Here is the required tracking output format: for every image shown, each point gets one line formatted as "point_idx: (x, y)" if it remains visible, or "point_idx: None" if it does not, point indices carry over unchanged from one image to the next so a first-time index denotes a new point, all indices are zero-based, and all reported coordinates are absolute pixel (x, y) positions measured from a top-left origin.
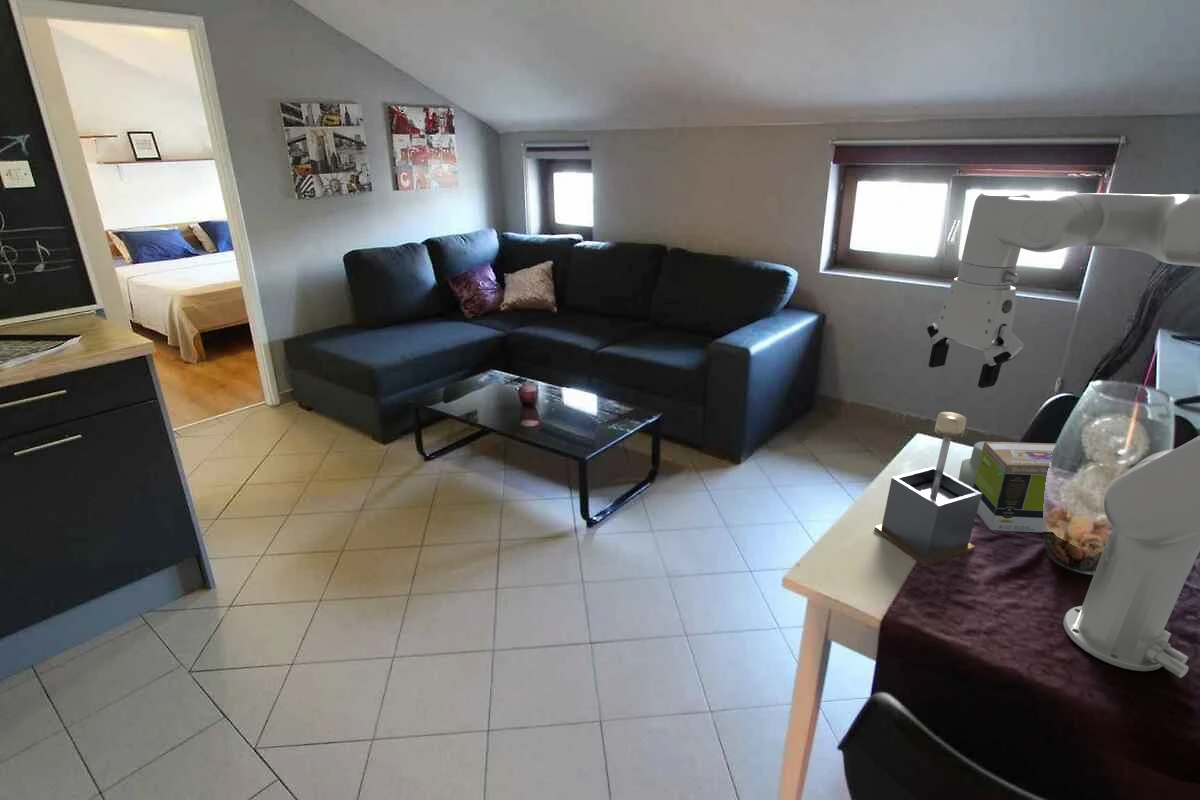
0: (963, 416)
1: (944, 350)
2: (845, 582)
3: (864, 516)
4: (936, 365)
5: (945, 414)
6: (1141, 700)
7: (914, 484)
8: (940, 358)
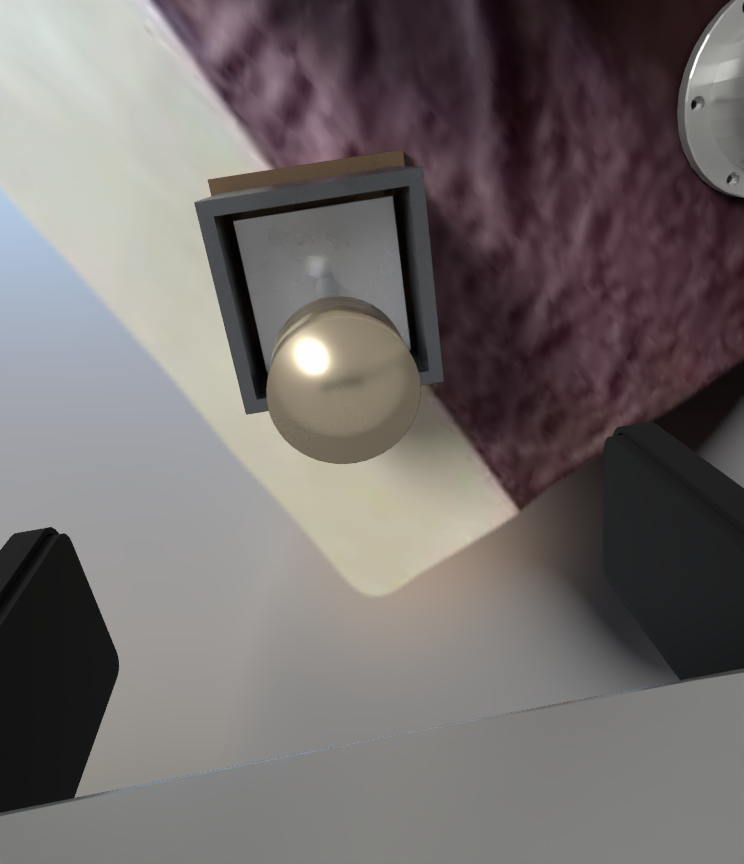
0: (352, 322)
1: (8, 708)
2: (413, 527)
3: (181, 347)
4: (102, 635)
5: (302, 407)
6: None
7: (239, 298)
8: (61, 657)
